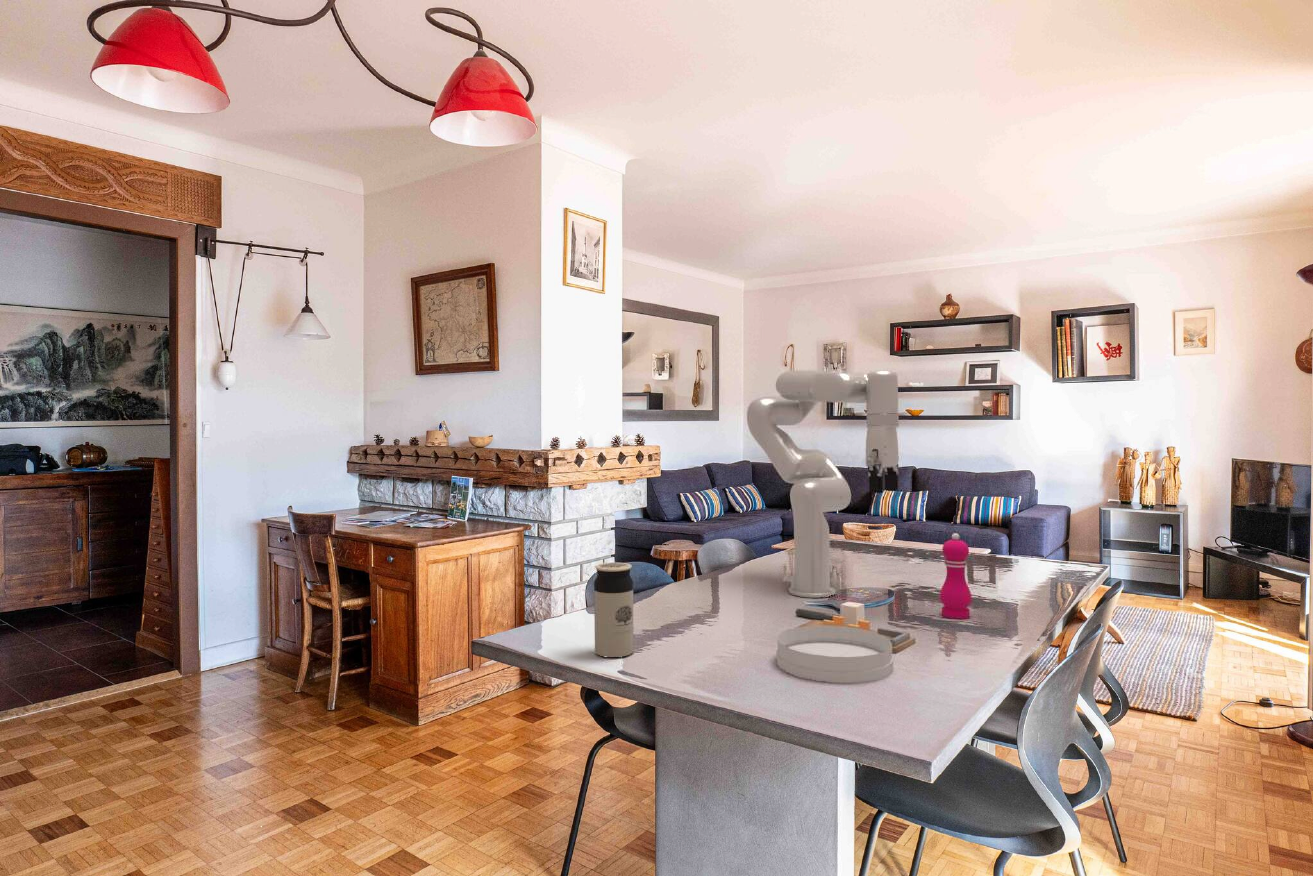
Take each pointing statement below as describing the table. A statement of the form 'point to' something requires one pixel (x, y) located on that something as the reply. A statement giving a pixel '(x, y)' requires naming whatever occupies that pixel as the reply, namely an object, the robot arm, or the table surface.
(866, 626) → the clip
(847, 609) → the connector
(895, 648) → the board
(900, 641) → the end holder
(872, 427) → the robot arm
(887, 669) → the dish
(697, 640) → the table surface
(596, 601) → the travel mug
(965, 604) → the pepper mill
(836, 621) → the clip
